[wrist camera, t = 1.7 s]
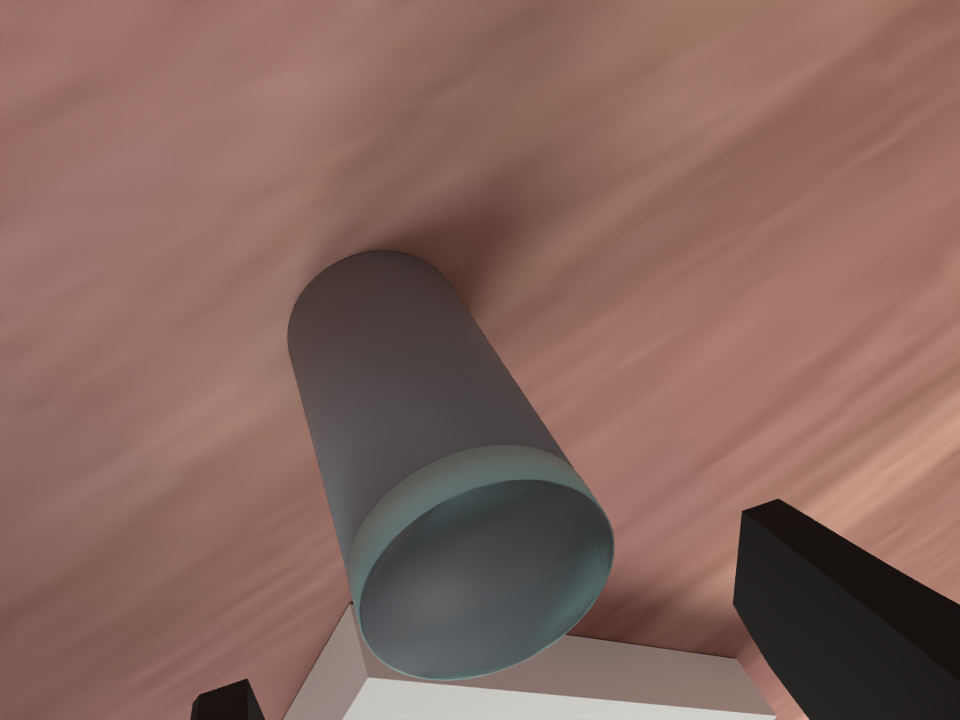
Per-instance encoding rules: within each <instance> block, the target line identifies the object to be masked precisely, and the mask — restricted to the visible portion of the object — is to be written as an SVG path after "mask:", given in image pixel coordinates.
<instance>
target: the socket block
mask: <svg viewBox="0 0 960 720" xmlns="http://www.w3.org/2000/svg"><path fill="white" fill-rule="evenodd" d="M776 717H777V715H776V713H775V712H774V710H773V709H772V708H771V706H770V705H769V703H768V702H767V701H766V699H765V698H764V696H763V695H762V694H761V692H760V691H759V689H758V688H757V687H756V685H755V684H754V682H753V681H752V680H751V678H750V677H749V675H748V674H747V673H746V671H745V670H744V668H743V667H742V666H741V664H740V663H739V661H738V660H737V659H733V658H726V657H719V656H711V655H704V654H697V653H690V652H683V651H676V650H669V649H662V648H655V647H648V646H641V645H634V644H627V643H620V642H613V641H605V640H598V639H591V638H584V637H577V636H570V635H564V636H563V637H561V638H560V639H559V640H557V641H556V642H555V643H553V644H552V645H551V646H549V647H548V648H546V649H544V650H543V651H541V652H540V653H538V654H536V655H534V656H533V657H531V658H529V659H527V660H525V661H523V662H521V663H519V664H516V665H514V666H511V667H509V668H507V669H504V670H501V671H498V672H495V673H492V674H488V675H484V676H480V677H475V678H469V679H462V680H447V681H444V680H428V679H422V678H416V677H413V676H409V675H406V674H403V673H401V672H398V671H396V670H394V669H392V668H390V667H389V666H387V665H386V664H384V663H383V662H381V661H380V660H379V659H378V658H377V657H376V656H375V655H374V654H373V653H372V652H371V650H370V649H369V647H368V646H367V645H366V643H365V641H364V639H363V636H362V634H361V631H360V627H359V623H358V619H357V616H356V612H355V608H354V605H351V604H349V606H348V608H347V609H346V611H345V613H344V615H343V616H342V618H341V620H340V622H339V623H338V625H337V627H336V628H335V630H334V632H333V634H332V635H331V637H330V639H329V641H328V642H327V644H326V646H325V648H324V649H323V651H322V653H321V654H320V656H319V658H318V660H317V661H316V663H315V665H314V667H313V668H312V670H311V672H310V674H309V675H308V677H307V679H306V680H305V682H304V684H303V686H302V687H301V689H300V691H299V693H298V694H297V696H296V698H295V700H294V701H293V703H292V705H291V706H290V708H289V710H288V712H287V713H286V715H285V717H284V719H283V720H774V719H775V718H776Z"/></svg>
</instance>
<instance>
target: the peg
mask: <svg viewBox="0 0 960 720" xmlns="http://www.w3.org/2000/svg"><path fill="white" fill-rule="evenodd" d="M287 340H288V349H289V353H290V358H291V362H292V365H293V369H294V373H295V377H296V381H297V384H298V388H299V392H300V396H301V400H302V404H303V407H304V411H305V415H306V419H307V423H308V427H309V430H310V434H311V438H312V442H313V446H314V450H315V453H316V457H317V461H318V465H319V469H320V472H321V476H322V480H323V484H324V488H325V492H326V495H327V499H328V503H329V507H330V511H331V515H332V518H333V522H334V526H335V530H336V534H337V537H338V541H339V545H340V549H341V553H342V557H343V560H344V564H345V568H346V572H347V576H348V584H349V588H350V592H351V596H352V600H353V604H354V608H355V612H356V616H357V619H358V623H359V627H360V631H361V634H362V636H363V639H364V641H365V643H366V645H367V646H368V647H369V649H370V650H371V652H372V653H373V654H374V655H375V656H376V657H377V658H378V659H379V660H380V661H381V662H383V663H384V664H386V665H387V666H389V667H390V668H392V669H394V670H396V671H398V672H401V673H403V674H406V675H409V676H413V677H416V678H422V679H428V680H444V681H447V680H462V679H469V678H475V677H480V676H484V675H488V674H492V673H495V672H498V671H501V670H504V669H507V668H509V667H511V666H514V665H516V664H519V663H521V662H523V661H525V660H527V659H529V658H531V657H533V656H534V655H536V654H538V653H540V652H541V651H543V650H544V649H546V648H548V647H549V646H551V645H552V644H553V643H555V642H556V641H557V640H559V639H560V638H561V637H563V636H564V635H565V634H566V633H567V632H568V631H569V630H571V629H572V628H573V627H574V626H575V625H576V624H577V623H578V622H579V621H580V620H581V619H582V618H583V617H584V616H585V614H586V613H587V612H588V611H589V609H590V608H591V607H592V605H593V604H594V603H595V601H596V600H597V598H598V596H599V595H600V593H601V592H602V590H603V588H604V586H605V584H606V581H607V579H608V576H609V574H610V571H611V568H612V563H613V558H614V536H613V530H612V527H611V524H610V522H609V519H608V517H607V516H606V514H605V512H604V511H603V509H602V508H601V506H600V505H599V503H598V502H597V500H596V499H595V497H594V496H593V494H592V493H591V491H590V490H589V488H588V487H587V485H586V484H585V482H584V481H583V479H582V478H581V476H580V475H579V474H578V473H577V472H576V471H575V470H574V468H573V467H572V465H571V464H570V462H569V461H568V459H567V458H566V456H565V455H564V453H563V452H562V450H561V449H560V447H559V446H558V444H557V443H556V441H555V440H554V438H553V437H552V435H551V434H550V432H549V431H548V429H547V428H546V426H545V425H544V423H543V422H542V420H541V419H540V417H539V416H538V414H537V413H536V411H535V410H534V408H533V407H532V405H531V404H530V402H529V401H528V399H527V398H526V397H525V395H524V394H523V392H522V391H521V389H520V388H519V386H518V385H517V383H516V382H515V380H514V379H513V377H512V376H511V374H510V373H509V371H508V370H507V368H506V367H505V365H504V364H503V362H502V361H501V359H500V358H499V356H498V355H497V353H496V352H495V350H494V349H493V347H492V346H491V344H490V343H489V341H488V340H487V338H486V337H485V335H484V334H483V332H482V331H481V329H480V328H479V326H478V325H477V323H476V322H475V320H474V319H473V317H472V316H471V314H470V313H469V311H468V310H467V308H466V307H465V305H464V304H463V302H462V301H461V300H460V298H459V297H458V295H457V294H456V292H455V291H454V289H453V288H452V286H451V285H450V283H449V282H448V280H447V279H446V278H445V277H444V276H443V274H442V273H440V272H439V271H438V270H437V269H436V268H435V267H433V266H432V265H430V264H429V263H427V262H426V261H424V260H422V259H420V258H417V257H415V256H412V255H409V254H405V253H400V252H394V251H374V252H367V253H362V254H357V255H354V256H351V257H348V258H346V259H343V260H341V261H339V262H337V263H335V264H333V265H332V266H330V267H329V268H327V269H325V270H324V271H323V272H322V273H320V274H319V275H318V276H317V277H315V278H314V279H313V280H312V281H311V283H310V284H309V285H308V286H307V287H306V288H305V290H304V291H303V292H302V294H301V295H300V297H299V298H298V300H297V302H296V304H295V306H294V308H293V311H292V313H291V316H290V320H289V325H288V334H287Z"/></svg>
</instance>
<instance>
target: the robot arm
mask: <svg viewBox="0 0 960 720" xmlns="http://www.w3.org/2000/svg"><path fill="white" fill-rule="evenodd" d="M733 605H734V607H735V609H736V610H737V612H738V614H739V616H740V617H741V619H742V621H743V623H744V624H745V626H746V628H747V630H748V631H749V633H750V635H751V637H752V638H753V640H754V642H755V643H756V645H757V647H758V648H759V650H760V651H761V653H762V655H763V656H764V658H765V660H766V661H767V663H768V665H769V666H770V668H771V669H772V670H773V672H774V673H775V674H776V676H777V677H778V678H779V680H780V681H781V683H782V684H783V685H784V686H785V688H786V689H787V690H788V692H789V693H790V694H791V696H792V697H793V698H794V700H795V701H796V702H797V704H798V705H799V706H800V708H801V709H802V710H803V712H804V713H805V714H806V716H807V717H808V718H809V719H810V720H960V605H959V604H957V603H956V602H954V601H952V600H950V599H948V598H946V597H945V596H943V595H941V594H939V593H937V592H936V591H934V590H932V589H930V588H928V587H927V586H925V585H923V584H921V583H920V582H918V581H916V580H914V579H913V578H911V577H909V576H907V575H906V574H904V573H902V572H900V571H899V570H897V569H895V568H893V567H892V566H890V565H888V564H887V563H885V562H883V561H882V560H880V559H878V558H876V557H875V556H873V555H871V554H870V553H868V552H866V551H865V550H863V549H861V548H860V547H858V546H856V545H855V544H853V543H851V542H850V541H848V540H846V539H845V538H843V537H841V536H840V535H838V534H836V533H835V532H833V531H832V530H830V529H828V528H827V527H825V526H823V525H822V524H820V523H818V522H817V521H815V520H813V519H812V518H810V517H808V516H807V515H805V514H804V513H802V512H800V511H799V510H797V509H795V508H794V507H792V506H790V505H788V504H787V503H785V502H783V501H782V500H780V499H776V500H773V501H770V502H767V503H764V504H761V505H758V506H755V507H752V508H749V509H746V510H744V511H742V517H741V527H740V537H739V547H738V557H737V567H736V577H735V587H734V597H733ZM191 720H265V718H264V716H263V714H262V711H261V709H260V707H259V704H258V702H257V700H256V697H255V695H254V693H253V690H252V688H251V686H250V683H249V681H248V679H244V680H241V681H238V682H235V683H232V684H230V685H227V686H224V687H221V688H218V689H215V690H212V691H209V692H206V693H203V694H200V695H199V696H198V697H197V699H196V700H195V701H194V703H193V706H192V713H191Z"/></svg>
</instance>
